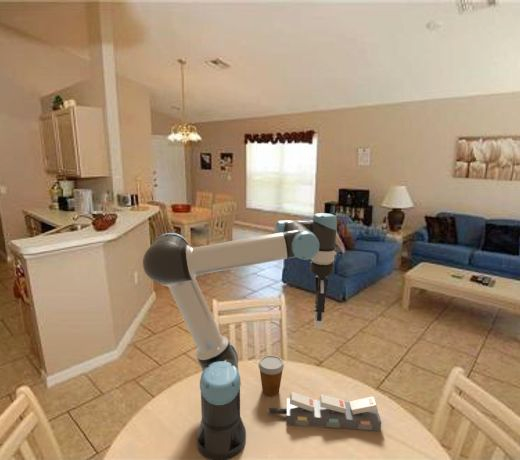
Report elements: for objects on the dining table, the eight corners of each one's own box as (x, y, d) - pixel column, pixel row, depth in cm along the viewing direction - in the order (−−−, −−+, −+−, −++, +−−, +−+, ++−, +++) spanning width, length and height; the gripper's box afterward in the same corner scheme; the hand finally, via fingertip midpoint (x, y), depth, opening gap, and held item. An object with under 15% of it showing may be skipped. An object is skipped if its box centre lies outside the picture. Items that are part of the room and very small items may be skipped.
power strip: (268, 424, 112) (268, 412, 111) (269, 405, 120) (269, 394, 119) (380, 432, 109) (382, 419, 108) (374, 412, 117) (375, 401, 116)
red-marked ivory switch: (289, 403, 113) (291, 399, 112) (289, 395, 116) (291, 391, 116) (312, 412, 113) (315, 407, 112) (312, 403, 116) (314, 398, 116)
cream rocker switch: (353, 414, 111) (351, 409, 111) (350, 405, 115) (349, 401, 115) (377, 409, 110) (376, 404, 110) (374, 400, 114) (373, 395, 114)
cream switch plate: (320, 406, 112) (322, 401, 111) (319, 398, 116) (321, 393, 115) (344, 413, 112) (346, 408, 111) (342, 404, 116) (344, 399, 115)
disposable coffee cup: (281, 401, 123) (282, 371, 120) (255, 397, 124) (255, 368, 122) (285, 384, 132) (285, 356, 129) (260, 380, 134) (261, 353, 131)
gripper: (336, 268, 104) (331, 338, 109) (332, 256, 117) (327, 319, 122) (311, 266, 105) (307, 336, 110) (310, 255, 118) (306, 318, 123)
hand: (318, 327), depth 116 cm, fingers closed
